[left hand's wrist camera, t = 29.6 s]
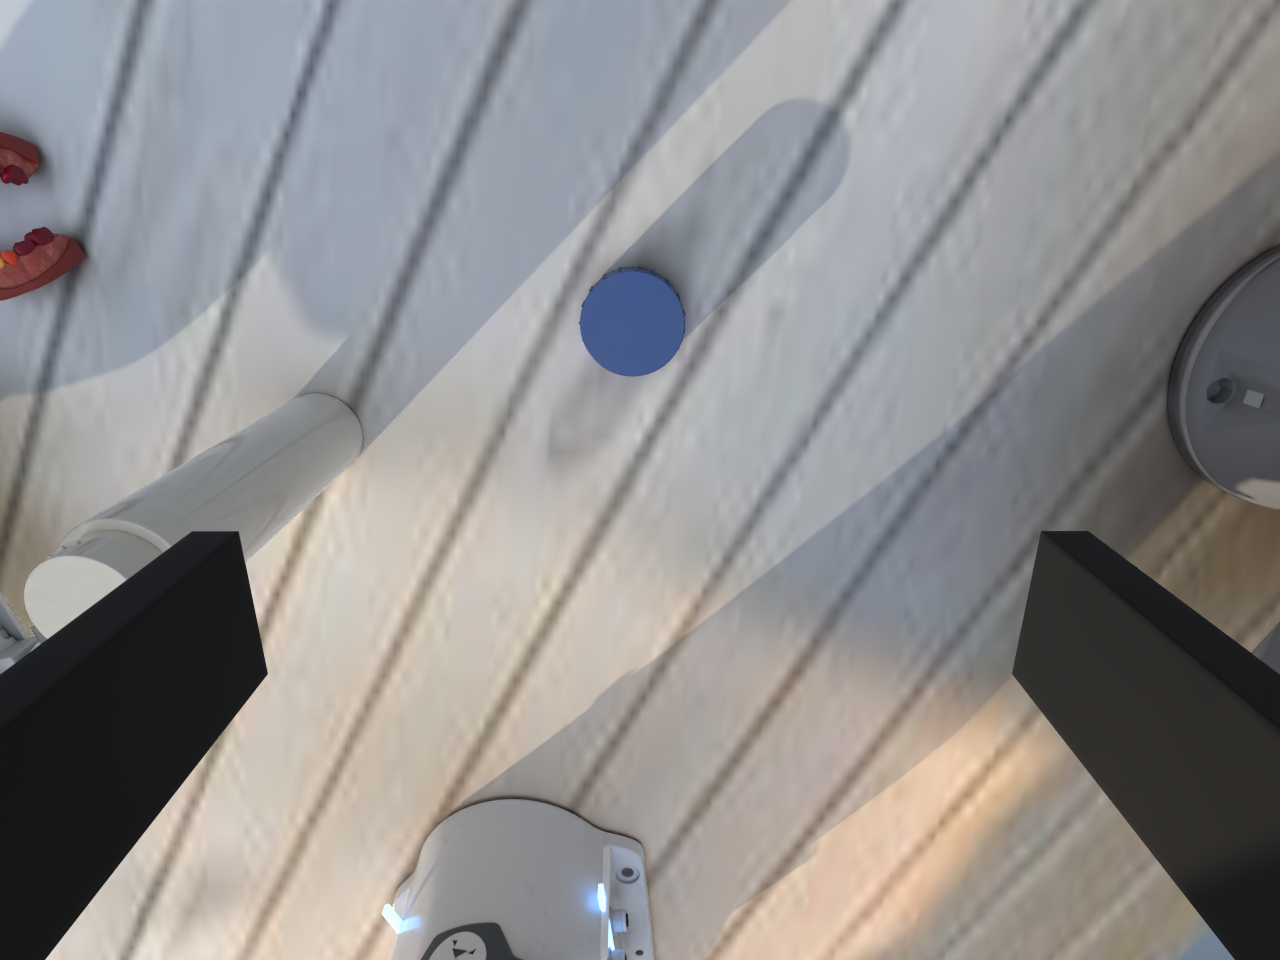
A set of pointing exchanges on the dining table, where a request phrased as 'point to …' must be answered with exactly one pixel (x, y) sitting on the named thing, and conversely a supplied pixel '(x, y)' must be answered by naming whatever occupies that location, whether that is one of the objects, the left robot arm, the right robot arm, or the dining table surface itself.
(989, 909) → the dining table surface
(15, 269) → the dental model
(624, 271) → the lid
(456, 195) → the dining table surface
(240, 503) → the white cylinder
